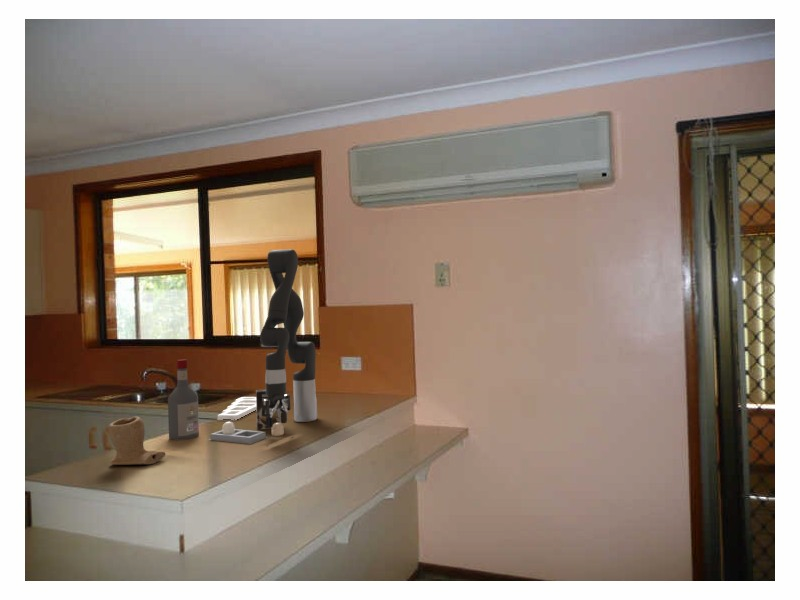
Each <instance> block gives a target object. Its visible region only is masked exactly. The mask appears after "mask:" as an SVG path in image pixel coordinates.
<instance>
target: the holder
mask: <svg viewBox="0 0 800 600" xmlns="http://www.w3.org/2000/svg"><path fill="white" fill-rule="evenodd" d="M255 410H256V396H241V397H238V398H237V399H234V401H233V402H231V403H230V405H228V406H227V407H226V409H224V410H222V412H221V413H220V414H217V421H224V420H223V419H231V420H230V421H238V420H237V419H239V418H241V417H243V416H245V415H247V414H249V413H251V412H253V411H255ZM255 412H256V411H255ZM253 413H254V412H253ZM251 414H252V413H251ZM249 415H250V414H249ZM247 416H248V415H247ZM245 417H246V416H245ZM243 418H244V417H243ZM234 419H235V420H234ZM241 419H242V418H241ZM239 420H240V419H239Z"/></svg>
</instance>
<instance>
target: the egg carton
mask: <svg viewBox="0 0 800 600" xmlns="http://www.w3.org/2000/svg"><path fill="white" fill-rule="evenodd" d="M265 439H268V436H266V431H260V430H251V429H247V430H246V429H237V428H235V433H234V434H231V435H226V434H222V429H221V430H219V431H218V430H217V431H216V432H213V433H210V438H209V439H208V440H209V441H214V442H215V441H216V442H227V443H235V444H236V443H237V444H247V445H252V444H254V443H256V442H259V441H262V440H265Z"/></svg>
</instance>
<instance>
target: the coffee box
mask: <svg viewBox="0 0 800 600" xmlns="http://www.w3.org/2000/svg"><path fill="white" fill-rule="evenodd" d="M255 394H256V396H255V397H256V411H255V412H256V431H259V430H268V429H270V430H271V428H267V426H266V417H264V416H262V400H268V395H266V388H265V389H255ZM270 409H271V408H270ZM265 413H266V410H265ZM269 414H270V412H269ZM272 417H273V424H275V423H281V411H280V410H279V409H277V410H276V411H275V412H274V413H273V416H272Z"/></svg>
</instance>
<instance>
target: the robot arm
mask: <svg viewBox="0 0 800 600" xmlns="http://www.w3.org/2000/svg"><path fill="white" fill-rule="evenodd" d="M266 259H267V265H268V266H267V267H268V271H269V274H270V277H271V280H272V282H273V285H274V289H275V290H274V292H273V294H272V296H271V297H270V300H269V305H268V313H267V317H266V320H265V322H264V325H263V327H262V329H261V331H260V335H259V340H260V343H261V345H262V346H263V347H268V348H269V347H270V348H271V347H275V348H276V347H277V350H276V351H275V352H271V353H267V354H266V356H265V376H264V377H265V378H264V379H265V380H264V381H265V389H266V395H268V400H262V416H264V417H266V426H267V428H270V429H271V428H272V427H273V417H272V416H273V413H274V412H275V411H276V410H277V409H279V410H280V423H281V424H287V422H288V412H289V411H291V407H292V406H291V394H287V373H286V353H288V354H287V355H288V358H289V361H290V362H291V363H292V364H295V365H296V364H297V365H298V364H299V365H300V364H303V365H304V368H303V369H300V370H298V371H296V372H294V373H293V374H292V383H293V384H292V386H293V387H292V388H293V418H294V421H295V422H297V423H305V422H307V423H308V422H314V421H316V420H317V419H318V403H317V400H318V399H317V396H316V392H317V391H316V360H317V359H316V346H315V343H314V342H313V341H298V340H297V332H298V329H299V327H300V325H301V323H302V322H303V318H304V314H305V312H304V308H303V302H302V299H301V297H300V296H299V294H298V293H297V292H296V291H295V290H294V289H293V287H294V282H295V278H296V274H297V271H298V266H299V257H298V253H297V251H296V250H294V249H293V248H291V249H290V248H288V249H287V248H286V249H273V250H270V251H269V252H268V253H267V258H266ZM281 324H283V327H277V326H278V325H281ZM270 408H271V409H270ZM265 410H266V413H265ZM269 412H270V414H269Z"/></svg>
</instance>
